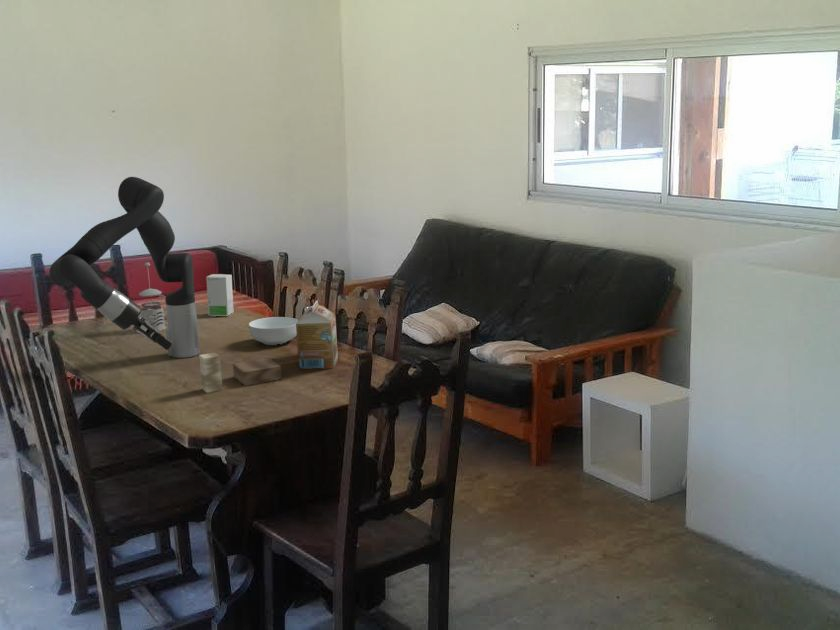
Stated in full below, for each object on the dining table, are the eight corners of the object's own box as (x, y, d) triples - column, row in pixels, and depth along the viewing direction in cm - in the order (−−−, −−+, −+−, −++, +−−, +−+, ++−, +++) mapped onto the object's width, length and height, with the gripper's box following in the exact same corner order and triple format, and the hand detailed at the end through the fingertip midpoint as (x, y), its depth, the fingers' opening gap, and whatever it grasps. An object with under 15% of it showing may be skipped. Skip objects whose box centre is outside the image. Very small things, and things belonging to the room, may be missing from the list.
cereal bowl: (267, 351, 306) (265, 330, 304) (240, 343, 318) (239, 322, 316) (310, 341, 316) (308, 321, 315) (283, 333, 329) (281, 314, 327)
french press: (135, 330, 342) (128, 262, 337) (164, 324, 350) (157, 258, 344) (147, 334, 335) (140, 265, 330) (177, 328, 343) (170, 261, 337)
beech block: (206, 392, 263) (203, 358, 261) (202, 388, 267) (199, 355, 265) (222, 390, 265) (219, 356, 263) (218, 386, 269) (215, 352, 267)
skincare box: (208, 316, 360) (204, 277, 357) (214, 313, 366) (211, 273, 363) (229, 316, 359) (225, 276, 355) (235, 313, 365) (231, 273, 362)
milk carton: (304, 359, 294) (300, 300, 290) (337, 358, 293) (334, 299, 289) (299, 369, 283) (294, 307, 279) (333, 368, 283) (330, 306, 279)
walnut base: (245, 385, 268) (243, 372, 268) (234, 376, 278) (232, 363, 277) (281, 379, 273) (280, 366, 272) (269, 370, 283) (268, 357, 282)
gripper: (133, 301, 245) (181, 338, 252) (122, 293, 257) (169, 328, 264) (114, 324, 243) (163, 360, 251) (104, 314, 256) (151, 349, 263)
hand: (166, 343), depth 258 cm, fingers open, 8 cm apart
